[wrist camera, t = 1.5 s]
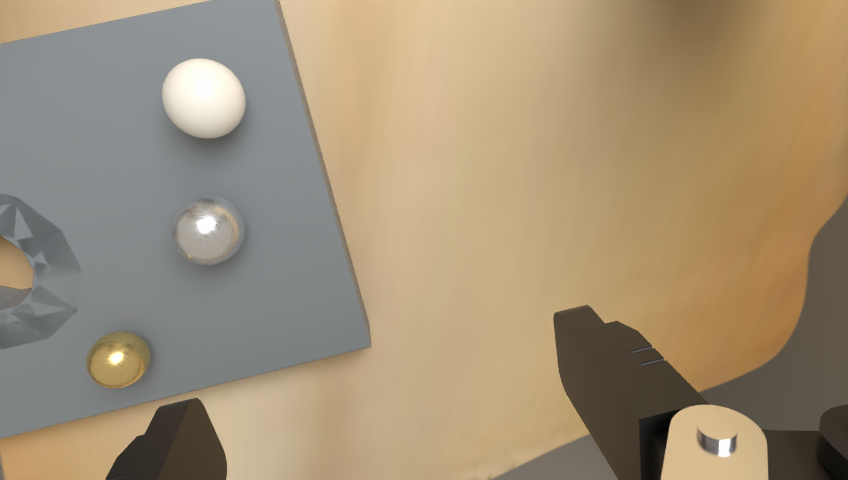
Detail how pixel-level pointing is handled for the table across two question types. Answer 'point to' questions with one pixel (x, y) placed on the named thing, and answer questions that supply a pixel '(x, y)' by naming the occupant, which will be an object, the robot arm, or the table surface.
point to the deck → (161, 215)
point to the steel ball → (206, 229)
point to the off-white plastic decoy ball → (203, 98)
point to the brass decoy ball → (118, 359)
